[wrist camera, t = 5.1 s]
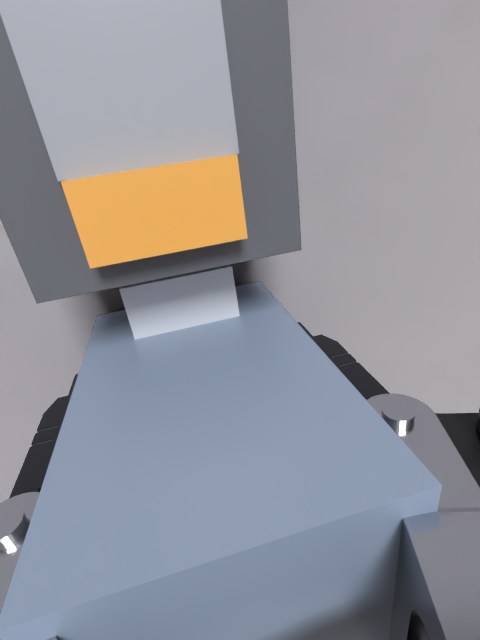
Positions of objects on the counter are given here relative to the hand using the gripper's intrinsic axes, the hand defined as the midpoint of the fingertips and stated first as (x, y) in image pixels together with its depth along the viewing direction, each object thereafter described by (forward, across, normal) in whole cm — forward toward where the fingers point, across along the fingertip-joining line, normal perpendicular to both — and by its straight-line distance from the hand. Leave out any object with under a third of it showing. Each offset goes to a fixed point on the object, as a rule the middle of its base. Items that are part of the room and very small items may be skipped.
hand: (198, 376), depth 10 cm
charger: (+1, 0, +2) cm, 2 cm away
